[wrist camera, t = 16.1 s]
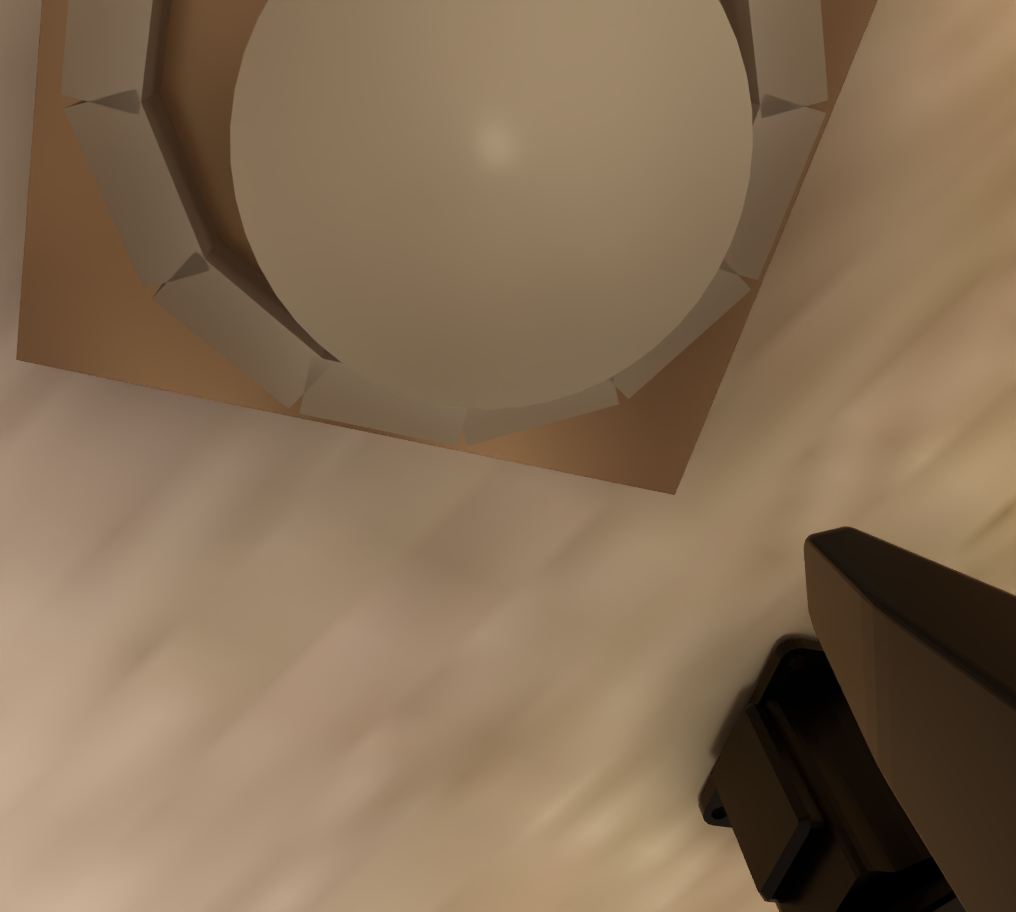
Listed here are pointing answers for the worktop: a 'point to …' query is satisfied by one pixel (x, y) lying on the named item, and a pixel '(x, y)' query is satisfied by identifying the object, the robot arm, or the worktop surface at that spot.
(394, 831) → the worktop surface
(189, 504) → the worktop surface
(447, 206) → the cap
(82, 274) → the collar base
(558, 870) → the worktop surface
